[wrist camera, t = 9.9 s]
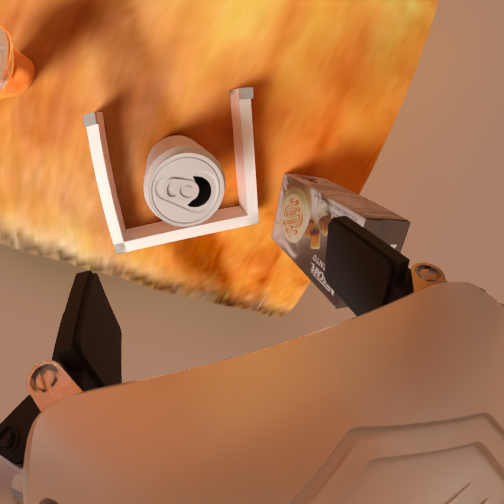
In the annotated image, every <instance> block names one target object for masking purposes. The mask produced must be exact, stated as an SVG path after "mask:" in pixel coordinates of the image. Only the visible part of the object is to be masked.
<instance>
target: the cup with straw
mask: <svg viewBox="0 0 504 504" xmlns="http://www.w3.org/2000/svg"><path fill="white" fill-rule="evenodd" d="M34 73H35V68H34V64H33V62H32V61H31V60H30V59H28V58H27V57H26V56H24V55H23V54H22V53H20V52H19V51H17V50H16V49H15V48H13V41H12V38H11V35H10V33H9V31H8V30H7V29H6V28H5V27H3V26H1V25H0V99H4V98H8V97H12V96H16V95H19V94H21V93H23V92H24V91H25V90H26V89H27V88H28V87H29V86H30V84H31V82H32V80H33V77H34Z"/></svg>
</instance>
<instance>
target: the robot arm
mask: <svg viewBox="0 0 504 504" xmlns="http://www.w3.org/2000/svg"><path fill="white" fill-rule="evenodd" d="M408 265H409V259H408V258H406V257H405V256H403V255H402V254H401V253H399V252H398V251H397V250H395V249H394V248H393V247H391V246H390V245H388V244H387V243H385V242H384V241H383V240H381V239H380V238H378V237H377V236H375V235H374V234H373V233H371V232H370V231H368V230H367V229H365V228H364V227H362V226H361V225H359V224H358V223H356V222H355V221H353V220H352V219H350V218H349V217H347V216H345V215H344V216H339V217H334V218H332V219H331V222H329V223H328V233H327V247H326V260H325V272H324V278H325V281H326V283H327V284H328V285H329V286H330V287H331V288H332V289H333V291H334V292H335V293H336V294H337V295H338V296H339V297H340V298H341V299H342V300H343V301H344V303H345V304H346V305H347V306H348V307H349V308H350V309H351V310H352V311H353V312H354V313H355V315H356V316H357V317H354V318H352V319H349V320H346V321H344V322H341V323H338V324H336V325H333V326H330V327H327V328H324V329H322V330H319V331H316V332H313V333H310V334H308V335H305V336H302V337H299V338H296V339H293V340H289V341H287V342H283V343H281V344H277V345H274V346H271V347H267V348H264V349H261V350H258V351H254V352H251V353H248V354H244V355H240V356H237V357H233V358H230V359H226V360H223V361H219V362H215V363H211V364H207V365H203V366H199V367H195V368H191V369H187V370H182V371H178V372H174V373H169V374H164V375H160V376H155V377H150V378H145V379H140V380H134V381H130V382H125V383H122V381H121V380H122V377H121V336H122V335H121V329H120V326H119V324H118V322H117V320H116V317H115V315H114V313H113V311H112V309H111V306H110V304H109V302H108V299H107V297H106V295H105V292H104V290H103V287H102V285H101V283H100V280H99V277H98V275H97V274H96V273H94V274H93V273H92V272H91V271H85V272H82V273H77V274H76V277H75V280H74V283H73V286H72V289H71V292H70V295H69V298H68V302H67V305H66V308H65V312H64V313H63V316H62V320H61V323H60V327H59V331H58V335H57V339H56V343H55V348H54V352H53V357H52V360H46V361H43V362H40V363H39V364H38V365H36V366H35V367H34V368H33V369H32V370H31V371H30V373H29V375H28V379H27V388H28V391H29V393H30V395H29V396H27V397H26V398H25V400H23V401H22V402H21V404H19V405H18V406H17V407H16V408H15V409H14V410H13V411H12V413H11V414H10V415H9V416H8V417H7V418H6V419H5V420H4V421H3V422H2V423H1V424H0V504H504V305H503V304H501V303H499V302H498V301H497V300H495V299H494V298H493V297H492V296H490V295H489V294H487V293H486V292H485V291H484V290H483V289H481V288H479V287H477V286H475V285H474V284H471V283H468V282H446V279H445V276H444V274H443V272H442V271H441V270H440V269H439V268H437V267H436V266H434V265H432V264H428V263H416V264H414V265H413V266H412V268H411V270H410V269H409V268H408Z"/></svg>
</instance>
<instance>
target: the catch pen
mask: <svg viewBox="0 0 504 504" xmlns="http://www.w3.org/2000/svg"><path fill="white" fill-rule="evenodd" d="M251 99H254V95H253V87H246V88H238V89H233V90H230V101H231V114H232V126H233V138H234V150H235V162H236V174H237V186H238V197H239V206H234V207H229V208H224V209H218V210H217V211H216V212H215V213H214V214H213V215H212V216H211V217H210V218H209V219H207V220H206V221H204V222H202V223H200V224H198V225H194V226H189V227H179V226H174V225H171V224H169V223H167V222H165V221H160V222H156V223H151V224H147V225H143V226H138V227H134V228H130V229H126V228H125V224H124V220H123V216H122V212H121V208H120V204H119V200H118V195H117V191H116V186H115V182H114V177H113V172H112V167H111V162H110V156H109V151H108V145H107V139H106V132H105V126H104V119H103V112H93V113H90V114H86V115H83V120H84V127H87V133H88V139H89V145H90V150H91V156H92V161H93V166H94V171H95V175H96V180H97V184H98V189H99V193H100V197H101V201H102V205H103V209H104V213H105V217H106V220H107V224H108V227H109V231H110V234H111V238H112V241H113V244H114V248H115V251H116V254H120V253H124V252H129V251H133V250H137V249H142V248H146V247H150V246H155V245H159V244H164V243H168V242H173V241H177V240H182V239H186V238H191V237H195V236H200V235H205V234H210V233H214V232H219V231H224V230H229V229H234V228H238V227H243V226H248V225H253V224H258V223H259V218H258V201H257V185H256V169H255V154H254V139H253V124H252V109H251Z"/></svg>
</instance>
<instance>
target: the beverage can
mask: <svg viewBox="0 0 504 504" xmlns="http://www.w3.org/2000/svg"><path fill="white" fill-rule="evenodd" d="M224 191H225V175H224V171H223V169H222V167H221V165H220V163H219V162H218V160H217V159H216V158H215V157H214V156H213V155H212V154H211V153H209V152H208V151H207V150H206V149H204V148H203V147H202V146H200V145H199V144H198V143H196V142H195V141H194V140H192V139H191V138H188V137H186V136H181V135H174V136H169V137H166V138H164V139H162V140H160V141H159V142H158V143H157V144H155V146H154V147H153V148H152V150H151V151H150V153H149V155H148V159H147V165H146V171H145V178H144V196H145V199H146V202H147V204H148V206H149V208H150V209H151V210H152V212H153V213H154V214H155V215H156V216H157V217H159V218H160V219H162V220H163V221H165V222H167V223H169V224H171V225H174V226H179V227H189V226H194V225H198V224H200V223H202V222H204V221H206V220H207V219H209V218H210V217H211V216H212V215H213V214H214V213H215V212H216V211H217V209H218V208H219V206H220V204H221V202H222V199H223V196H224Z"/></svg>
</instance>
